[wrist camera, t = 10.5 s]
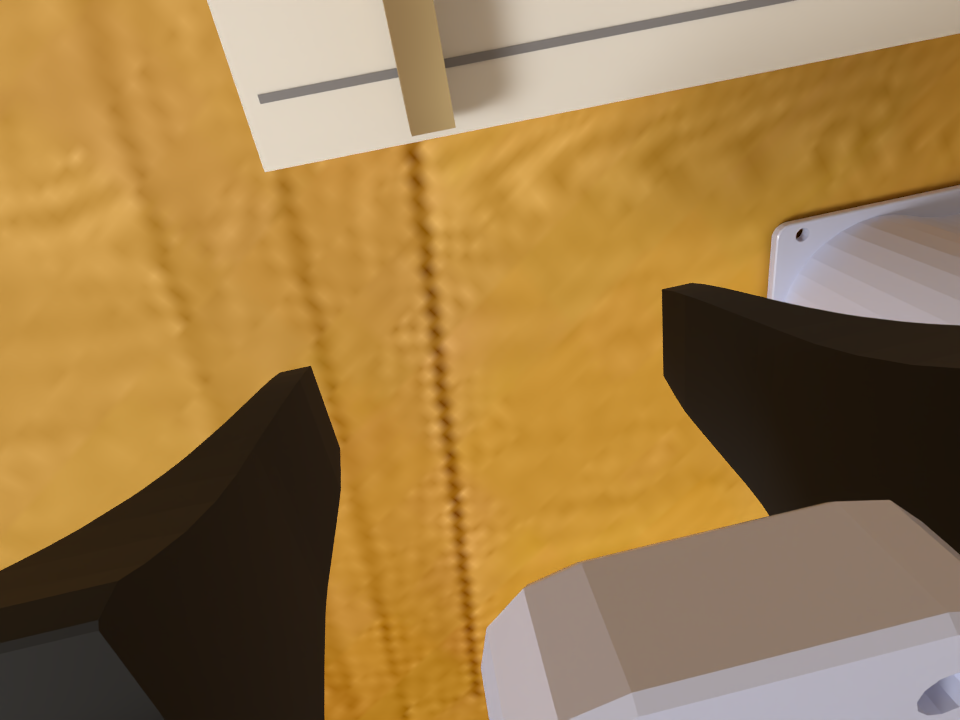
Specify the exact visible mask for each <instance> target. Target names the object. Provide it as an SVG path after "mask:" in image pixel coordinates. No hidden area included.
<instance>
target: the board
mask: <svg viewBox="0 0 960 720" xmlns="http://www.w3.org/2000/svg"><path fill="white" fill-rule="evenodd" d="M433 1H434V6H435V12H436V18H437V24H438V29H439V35H440V41H441V46H442V52H443V58H444V63H445V69H446V75H447V80H448V86H449V92H450V97H451V103H452V109H453V114H454V120H455V126H456V128H452V129H447V130H442V131H437V132H432V133H427V134H422V135H417V136H412V135H411V132H410V128H409V123H408V119H407V114H406V109H405V105H404V100H403V95H402V91H401V86H400V81H399V76H398V72H397V67H396V62H395V58H394V53H393V48H392V44H391V39H390V34H389V29H388V25H387V20H386V15H385V11H384V6H383V1H382V0H207V2H208V5H209V8H210V11H211V14H212V17H213V20H214V23H215V26H216V29H217V31H218V34H219V37H220V40H221V43H222V46H223V49H224V52H225V55H226V58H227V61H228V64H229V67H230V70H231V73H232V76H233V79H234V82H235V85H236V88H237V91H238V94H239V97H240V100H241V103H242V106H243V109H244V112H245V115H246V118H247V121H248V124H249V127H250V130H251V133H252V136H253V139H254V142H255V145H256V148H257V151H258V154H259V157H260V160H261V162H262V165H263V168H264V171H265V172H268V171H273V170H278V169H283V168H288V167H293V166H298V165H303V164H308V163H313V162H318V161H323V160H328V159H333V158H338V157H343V156H348V155H353V154H358V153H363V152H368V151H373V150H378V149H383V148H388V147H393V146H398V145H403V144H408V143H413V142H418V141H423V140H428V139H433V138H438V137H443V136H448V135H453V134H458V133H463V132H468V131H473V130H478V129H483V128H488V127H493V126H498V125H503V124H508V123H513V122H518V121H523V120H528V119H533V118H538V117H543V116H548V115H553V114H558V113H563V112H568V111H573V110H578V109H583V108H588V107H593V106H598V105H603V104H608V103H613V102H618V101H623V100H628V99H633V98H638V97H643V96H648V95H653V94H658V93H663V92H668V91H673V90H678V89H683V88H688V87H693V86H698V85H703V84H708V83H713V82H718V81H723V80H728V79H733V78H738V77H743V76H748V75H753V74H758V73H763V72H768V71H773V70H778V69H783V68H788V67H793V66H798V65H803V64H808V63H813V62H818V61H823V60H829V59H834V58H839V57H844V56H849V55H854V54H859V53H864V52H869V51H874V50H879V49H884V48H889V47H894V46H899V45H904V44H909V43H914V42H919V41H924V40H929V39H934V38H939V37H944V36H949V35H954V34H959V33H960V0H433Z"/></svg>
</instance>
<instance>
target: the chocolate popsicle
mask: <svg viewBox="0 0 960 720" xmlns="http://www.w3.org/2000/svg"><path fill="white" fill-rule="evenodd" d="M382 1H383V6H384V11H385V15H386V20H387V25H388V29H389V34H390V39H391V44H392V48H393V53H394V58H395V62H396V67H397V72H398V76H399V81H400V86H401V91H402V95H403V100H404V105H405V109H406V114H407V119H408V123H409V128H410V132H411V135H412V136H417V135H422V134H427V133H432V132H437V131H442V130H447V129H452V128H456V126H455V120H454V114H453V109H452V103H451V97H450V92H449V86H448V80H447V75H446V69H445V63H444V58H443V52H442V46H441V41H440V35H439V29H438V24H437V18H436V12H435V6H434V1H433V0H382Z"/></svg>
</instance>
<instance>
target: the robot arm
mask: <svg viewBox="0 0 960 720" xmlns="http://www.w3.org/2000/svg"><path fill="white" fill-rule="evenodd" d="M800 229H803V231H802V234H801V235H800V236H799V237H798V238H796V234H797V232H798V231H799V230H800ZM662 315H663V372H664V377H665V379H666V381H667V382H668V384H669V386H670V388H671V389H672V391H673V393H674V395H675V396H676V398H677V399H678V401H679V403H680V404H681V406H682V407H683V409H684V411H685V412H686V413H687V414H688V416H689V417H690V418H691V419H692V421H693V422H694V423H695V424H696V425H697V427H698V428H699V429H700V430H701V431H702V433H703V434H704V435H705V436H706V437H707V439H708V440H709V441H710V442H711V443H712V445H713V446H714V447H715V448H716V449H717V450H718V452H719V453H720V454H721V455H722V456H723V457H724V459H725V460H726V461H727V462H728V463H729V465H730V466H731V467H732V468H733V469H734V470H735V472H736V473H737V474H738V475H739V476H740V477H741V479H742V480H743V481H744V482H745V483H746V485H747V486H748V487H749V488H750V490H751V491H752V492H753V493H754V495H755V496H756V497H757V499H758V500H759V501H760V502H761V504H762V505H763V507H764V508H765V510H766V511H767V513H768V514H769V516H768V517H764V518H760V519H755V520H751V521H747V522H743V523H739V524H735V525H730V526H726V527H722V528H718V529H714V530H710V531H705V532H701V533H697V534H693V535H689V536H685V537H681V538H676V539H672V540H668V541H664V542H660V543H656V544H651V545H647V546H643V547H639V548H635V549H631V550H627V551H622V552H618V553H614V554H610V555H606V556H602V557H597V558H593V559H589V560H585V561H581V562H577V563H575V564H573V565H571V566H568V567H566V568H564V569H562V570H559V571H557V572H555V573H553V574H550V575H548V576H546V577H544V578H541V579H539V580H537V581H535V582H532V583H530V584H528V585H527V586H526V587H524V588H523V589H522V590H521V591H520V593H519V594H518V595H517V596H516V597H515V598H514V599H513V600H512V601H511V602H510V603H509V604H508V606H507V607H506V608H505V609H504V610H503V611H502V612H501V613H500V614H499V615H498V616H497V617H496V619H495V620H494V621H493V622H492V623H491V624H490V625H489V626H488V627H487V629H486V636H485V643H484V650H483V657H482V664H481V671H482V678H483V684H484V690H485V696H486V702H487V709H488V715H489V720H960V185H957V186H952V187H947V188H943V189H938V190H933V191H929V192H924V193H919V194H915V195H910V196H905V197H901V198H896V199H891V200H887V201H882V202H877V203H873V204H868V205H863V206H859V207H854V208H849V209H845V210H840V211H835V212H831V213H826V214H821V215H817V216H812V217H807V218H803V219H798V220H793V221H789V222H785V223H782V224H780V225H779V226H778V227H777V228H776V229H775V230H774V232H773V235H772V241H771V254H770V267H769V280H768V293H767V298H764V297H760V296H756V295H751V294H747V293H743V292H739V291H734V290H730V289H726V288H721V287H716V286H711V285H705V284H696V283H689V284H685V285H680V286H676V287H671V288H666V289H662ZM340 491H341V466H340V447H339V444H338V441H337V439H336V436H335V433H334V430H333V427H332V425H331V422H330V419H329V416H328V413H327V410H326V408H325V405H324V402H323V399H322V396H321V393H320V391H319V388H318V385H317V382H316V379H315V377H314V374H313V371H312V368H311V366H308V367H304V368H299V369H294V370H290V371H285V372H281V373H279V374H278V375H276V376H275V377H273V378H272V379H271V380H270V381H269V382H268V383H267V384H265V385H264V386H263V387H262V388H261V389H260V390H259V391H258V392H257V393H256V394H255V395H254V396H253V397H252V398H251V399H250V400H249V401H248V402H247V403H245V404H244V405H243V406H242V407H241V408H240V409H239V410H238V411H237V412H236V413H235V414H234V415H233V416H232V417H231V418H230V419H229V420H228V421H227V422H226V423H224V424H223V425H222V426H221V427H220V428H219V429H218V430H217V431H215V432H214V433H213V434H212V435H211V436H210V437H209V438H207V439H206V440H205V441H204V442H203V443H202V444H201V445H199V446H198V447H197V448H196V449H195V450H194V451H192V452H191V453H190V454H189V455H188V456H187V457H185V458H184V459H183V460H182V461H180V462H179V463H178V464H177V465H175V466H174V467H173V468H171V469H170V470H169V471H167V472H166V473H165V474H163V475H162V476H161V477H159V478H158V479H156V480H155V481H154V482H152V483H151V484H150V485H148V486H147V487H145V488H144V489H143V490H141V491H140V492H138V493H137V494H135V495H134V496H132V497H131V498H129V499H127V500H126V501H124V502H123V503H121V504H119V505H118V506H116V507H115V508H113V509H111V510H110V511H108V512H106V513H105V514H103V515H102V516H100V517H98V518H97V519H95V520H94V521H92V522H90V523H89V524H87V525H86V526H84V527H82V528H81V529H79V530H77V531H75V532H74V533H72V534H70V535H68V536H66V537H64V538H63V539H61V540H59V541H57V542H55V543H54V544H52V545H50V546H48V547H46V548H44V549H42V550H40V551H38V552H36V553H35V554H33V555H31V556H29V557H27V558H25V559H23V560H21V561H19V562H17V563H15V564H13V565H11V566H9V567H7V568H5V569H3V570H1V571H0V720H324V654H325V612H326V599H327V588H328V580H329V573H330V566H331V559H332V551H333V544H334V537H335V530H336V523H337V515H338V508H339V500H340Z"/></svg>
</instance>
